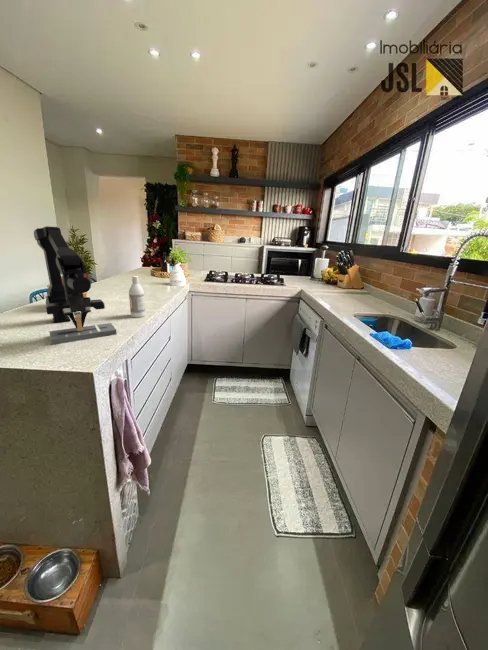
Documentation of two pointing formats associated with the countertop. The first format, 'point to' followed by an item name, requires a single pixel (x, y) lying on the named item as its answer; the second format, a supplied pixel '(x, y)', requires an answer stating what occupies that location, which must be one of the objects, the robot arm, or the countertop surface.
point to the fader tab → (78, 321)
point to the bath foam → (136, 298)
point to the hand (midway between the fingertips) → (79, 327)
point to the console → (81, 333)
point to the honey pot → (177, 276)
